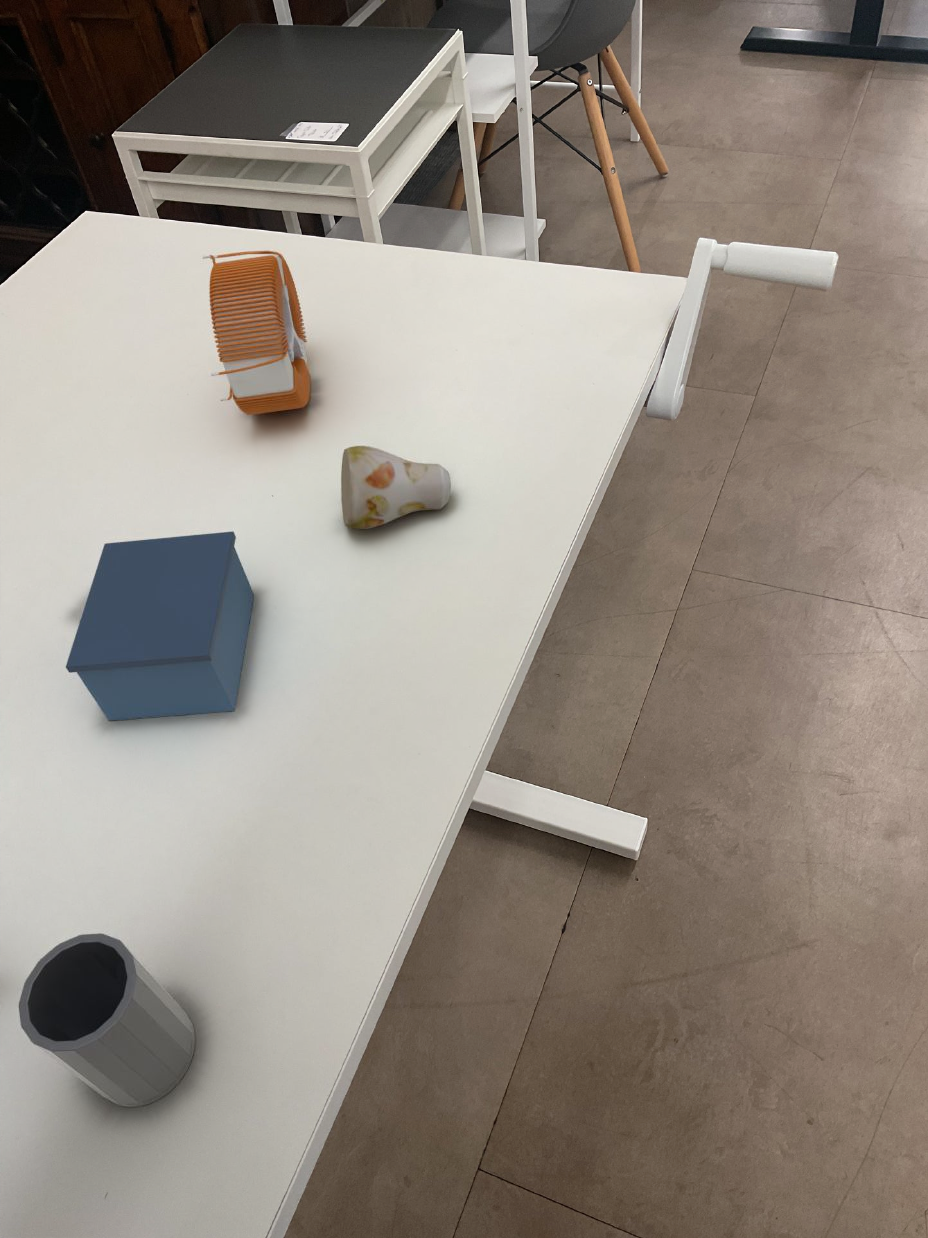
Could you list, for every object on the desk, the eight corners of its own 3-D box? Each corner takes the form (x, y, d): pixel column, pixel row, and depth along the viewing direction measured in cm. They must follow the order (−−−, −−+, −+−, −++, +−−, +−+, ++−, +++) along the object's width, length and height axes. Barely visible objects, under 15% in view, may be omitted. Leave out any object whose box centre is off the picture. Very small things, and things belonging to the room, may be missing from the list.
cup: (185, 1105, 58) (121, 1047, 51) (82, 1109, 59) (4, 1053, 51) (202, 997, 62) (145, 930, 55) (106, 1003, 63) (36, 937, 55)
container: (238, 714, 77) (209, 655, 71) (103, 724, 78) (65, 667, 72) (258, 592, 85) (233, 530, 80) (137, 602, 86) (104, 543, 80)
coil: (314, 352, 107) (278, 220, 96) (309, 441, 98) (269, 306, 86) (250, 361, 108) (207, 230, 97) (239, 451, 98) (190, 317, 87)
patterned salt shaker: (470, 523, 88) (404, 473, 80) (380, 565, 92) (309, 521, 84) (459, 454, 91) (395, 399, 83) (372, 497, 95) (303, 448, 87)
